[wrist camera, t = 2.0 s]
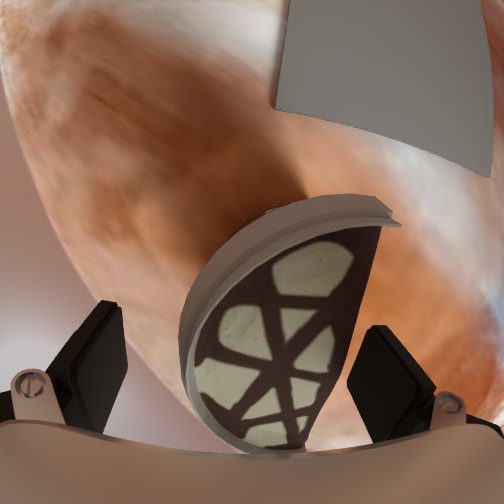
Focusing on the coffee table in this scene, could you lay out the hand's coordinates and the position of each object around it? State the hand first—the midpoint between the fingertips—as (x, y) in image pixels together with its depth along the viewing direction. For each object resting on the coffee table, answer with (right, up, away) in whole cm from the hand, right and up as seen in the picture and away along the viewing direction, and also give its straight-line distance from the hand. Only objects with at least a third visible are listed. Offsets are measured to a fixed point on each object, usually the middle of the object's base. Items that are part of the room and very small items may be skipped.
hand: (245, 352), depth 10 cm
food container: (0, +2, +8) cm, 9 cm away
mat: (+12, +20, +3) cm, 24 cm away
